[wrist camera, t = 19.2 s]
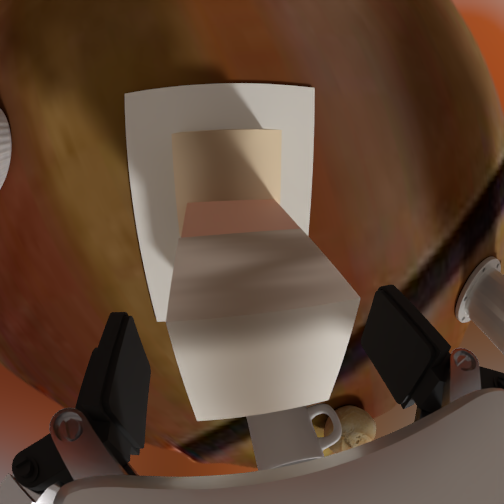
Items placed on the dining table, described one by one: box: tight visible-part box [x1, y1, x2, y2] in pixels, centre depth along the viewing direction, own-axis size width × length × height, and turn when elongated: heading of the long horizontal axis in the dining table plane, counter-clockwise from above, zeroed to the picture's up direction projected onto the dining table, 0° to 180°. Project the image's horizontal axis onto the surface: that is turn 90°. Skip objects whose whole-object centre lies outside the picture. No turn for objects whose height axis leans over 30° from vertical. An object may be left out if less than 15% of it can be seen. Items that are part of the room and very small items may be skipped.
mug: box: [246, 403, 342, 471], centre depth 30 cm, size 12×8×11 cm
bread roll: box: [324, 405, 376, 453], centre depth 39 cm, size 10×15×8 cm, turn 32°
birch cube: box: [166, 229, 360, 421], centre depth 10 cm, size 5×5×5 cm
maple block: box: [171, 129, 282, 237], centre depth 17 cm, size 6×6×5 cm
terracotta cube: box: [181, 199, 301, 238], centre depth 14 cm, size 5×5×5 cm
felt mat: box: [125, 83, 315, 322], centre depth 21 cm, size 14×20×1 cm
